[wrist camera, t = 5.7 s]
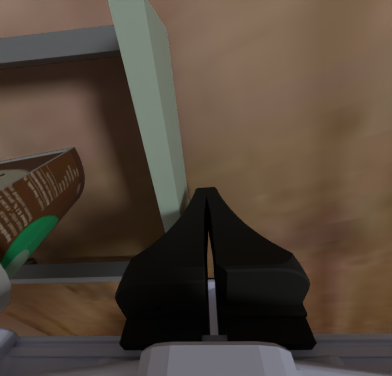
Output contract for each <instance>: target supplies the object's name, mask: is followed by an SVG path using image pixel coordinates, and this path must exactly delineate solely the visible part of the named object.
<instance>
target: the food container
mask: <svg viewBox="0 0 392 376" xmlns="http://www.w3.org/2000/svg"><path fill="white" fill-rule="evenodd" d="M84 181H85V176H84V170H83V166H82V163H81V160H80V157H79V155H78V153H77V151H76V149H75V147H73V148H67V149H62V150H57V151H51V152H46V153H41V154H36V155H30V156H25V157H20V158H14V159H9V160H4V161H0V312H1V311H2V310H3V309H4V308H6V307H7V306H8V304H9V302H10V300H11V298H12V286H11V284H10V281H9V280H10V279H11V278H12V277H13V276H14V275H15V273H16V272H17V271H18V270H19V269H20V267H21V266H22V265H23V264H24V263H25V261H26V260H27V259H28V258H29V257H30V255H31V254H32V253H33V252H34V251H35V250H36V248H37V247H38V246H39V245H40V244H41V242H42V241H43V240H44V239H45V238H46V236H47V235H48V234H49V233H50V232H51V230H52V229H53V228H54V227H55V226H56V225H57V223H58V222H59V221H60V220H61V219H62V217H63V216H64V215H65V214H66V213H67V211H68V210H69V209H70V208H71V207H72V205H73V204H74V203H75V202H76V201H77V200H78V198H79V197H80V195H81V193H82V192H83V188H84Z"/></svg>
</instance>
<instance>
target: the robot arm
mask: <svg viewBox="0 0 392 376" xmlns="http://www.w3.org/2000/svg"><path fill="white" fill-rule="evenodd" d="M208 230H209V237H210V243H211V249H212V255H213V265H214V279H210V280H208V270H207V248H208ZM309 287H310V282H309V279H308V277H307V275H306V273H305V271H304V270H303V268H302V267H301V265H300V263H299V262H298V261H297V259H296V258H295V256H294V255H293V254H292V253H291V252H289V251H287V250H285V249H283V248H281V247H279V246H277V245H276V244H274V243H272V242H270V241H269V240H267V239H266V238H264V237H262V236H261V235H259V234H258V233H257V232H255V231H254V230H253V229H251V228H250V227H249V226H247V225H246V224H245V223H244V222H243V221H242V220H241V219H240V218H239V217H237V215H236V214H235V213H234V212H233V211H232V210H231V209H230V208H229V207H228V205H227V204H226V203H225V202H224V200H223V199H222V197H221V196H220V194H219V193H218V191H217V189H216V188H215V187H209V188H197V189H196V190H195V193H194V195H193V197H192V199H191V201H190V203H189V205H188V206H187V208H186V209H185V211H184V212H183V214H182V215H181V216H180V218H179V219H178V220H177V221H176V223H175V224H174V225H173V226H172V227H171V228H170V229H169V230H168V231H167V232H166V233H165V234H164V235H163V236H162V237H161V238H160V239H158V240H157V241H156V242H155V243H154V244H152V245H151V246H150V247H148V248H147V249H145V250H144V251H143V252H141V253H140V254H138V255H137V256H135V257H134V258H132V259H131V260H130V262H129V264H128V266H127V268H126V270H125V272H124V274H123V276H122V279H121V281H120V284H119V286H118V289H117V291H116V295H115V299H116V302H117V304H118V306H119V307H120V309H121V311H122V312H123V314H124V315H125V317H126V318H127V320H126V323H125V326H124V329H123V333H122V336H18V334H16V333H15V332H14V331H12V330H10V329H7V328H0V376H392V334H313V333H312V331H311V329H310V327H309V324H308V322H307V320H306V318H305V317H307V312H306V310H305V308H304V306H303V300H304V298H305V296H306V294H307V292H308V290H309Z"/></svg>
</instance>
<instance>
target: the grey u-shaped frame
mask: <svg viewBox="0 0 392 376" xmlns="http://www.w3.org/2000/svg"><path fill="white" fill-rule="evenodd" d="M108 3H109V7H110V11H111V15H112V19H113V23H114V25H108V26H100V27H91V28H83V29H75V30H66V31H58V32H50V33H41V34H33V35H25V36H16V37H8V38H0V69H6V68H15V67H24V66H34V65H43V64H52V63H61V62H71V61H80V60H89V59H98V58H108V57H117V56H122V60H123V64H124V68H125V72H126V76H127V80H128V84H129V88H130V92H131V96H132V100H133V104H134V108H135V113H136V117H137V121H138V125H139V129H140V133H141V137H142V141H143V145H144V149H145V153H146V157H147V161H148V165H149V169H150V173H151V177H152V182H153V186H154V190H155V194H156V198H157V202H158V206H159V210H160V214H161V218H162V222H163V226H164V230H165V233H166V232H167V231H168V230H169V229H170V228H171V227H172V226H173V225H174V224H175V223H176V221H177V220H178V219H179V218H180V216H181V215H182V214H183V212H184V211H185V209H186V208H187V206H188V205H189V199H188V191H187V183H186V175H185V167H184V160H183V152H182V144H181V136H180V128H179V121H178V113H177V105H176V97H175V89H174V82H173V74H172V66H171V58H170V50H169V43H168V35H167V29H166V27H165V26H164V24H163V23H162V21H161V20H160V18H159V17H158V15H157V14H156V12H155V10H154V9H153V7H152V6H151V4H150V3H149V1H148V0H108ZM129 262H130V261H121V262H91V263H62V264H37V263H36V262H35V260H34V259H32V258H31V259H28V260H26V261H25V263H24V264H23V265H22V266H21V267H20V269H19V270H18V271H17V272H16V273H15V275H14V276H13V277H12V278H11V279H10V280H9V281H10V284H37V283H74V282H111V281H121V279H122V276H123V274H124V272H125V270H126V268H127V266H128V264H129Z"/></svg>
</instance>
